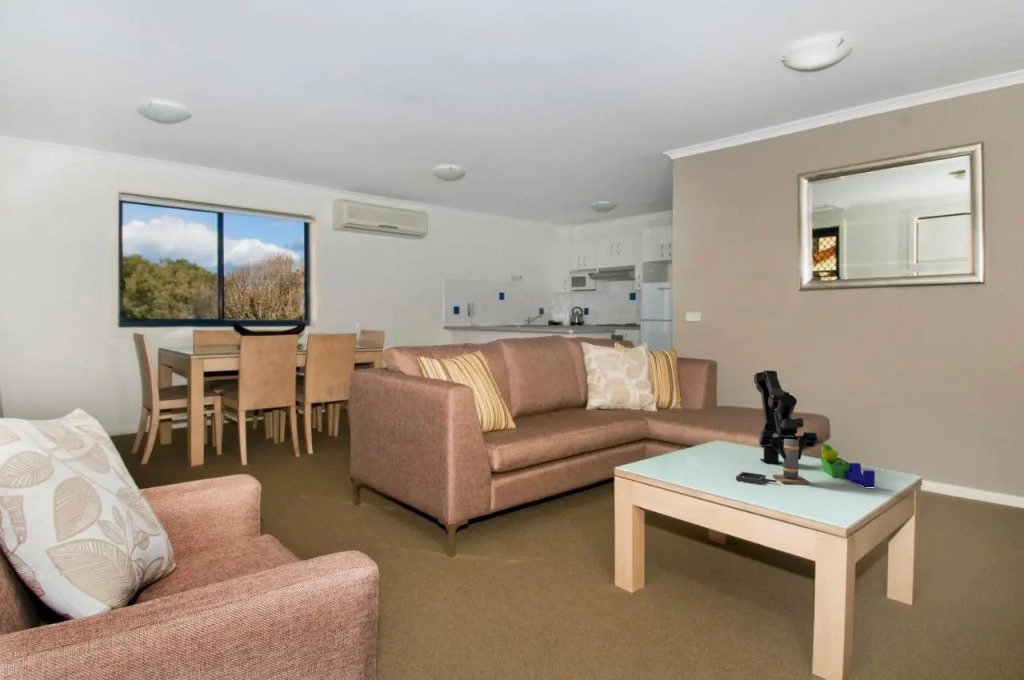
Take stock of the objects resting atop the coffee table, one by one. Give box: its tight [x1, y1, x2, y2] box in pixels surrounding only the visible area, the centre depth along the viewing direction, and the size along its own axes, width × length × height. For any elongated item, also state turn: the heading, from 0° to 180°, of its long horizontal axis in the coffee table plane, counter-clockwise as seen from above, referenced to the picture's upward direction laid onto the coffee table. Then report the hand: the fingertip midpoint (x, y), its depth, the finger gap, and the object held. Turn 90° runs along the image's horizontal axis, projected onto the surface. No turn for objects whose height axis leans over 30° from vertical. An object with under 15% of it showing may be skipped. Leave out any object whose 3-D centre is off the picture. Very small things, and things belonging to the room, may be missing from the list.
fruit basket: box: [819, 444, 851, 478], centre depth 217 cm, size 11×9×11 cm
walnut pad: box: [772, 474, 810, 485], centre depth 208 cm, size 9×9×1 cm
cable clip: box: [844, 462, 876, 488], centre depth 205 cm, size 12×4×6 cm, turn 172°
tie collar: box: [735, 471, 778, 485], centre depth 207 cm, size 8×13×2 cm, turn 54°
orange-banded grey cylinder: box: [782, 439, 799, 478], centre depth 208 cm, size 5×5×13 cm
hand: (792, 458), depth 207 cm, fingers closed on orange-banded grey cylinder, 5 cm apart
